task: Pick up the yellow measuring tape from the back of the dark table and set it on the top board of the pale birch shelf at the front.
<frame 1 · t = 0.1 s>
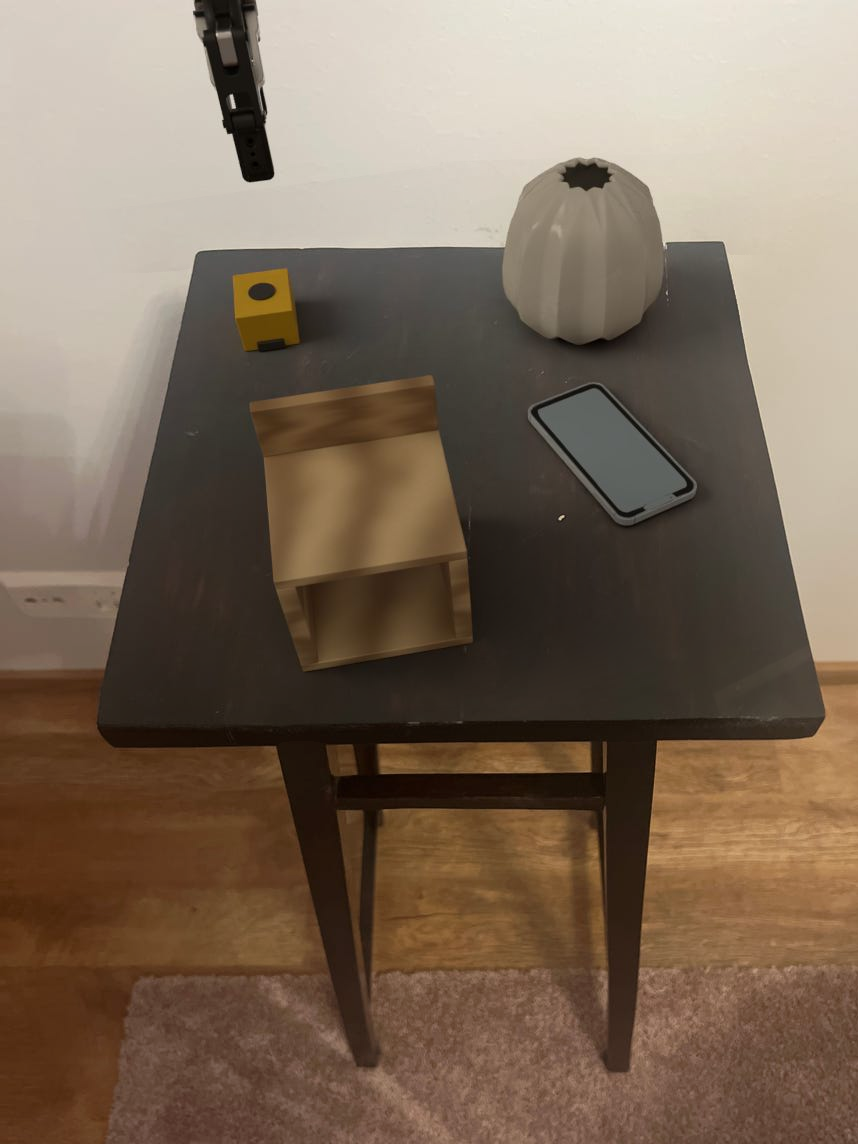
hand: (256, 147, 70), 20 cm above the table, tool pointing down, fingers open, 8 cm apart
shelf: (378, 591, 71), on the table
vase: (579, 317, 89), on the table
smartphone: (608, 455, 79), on the table
measuring tape: (270, 326, 90), on the table
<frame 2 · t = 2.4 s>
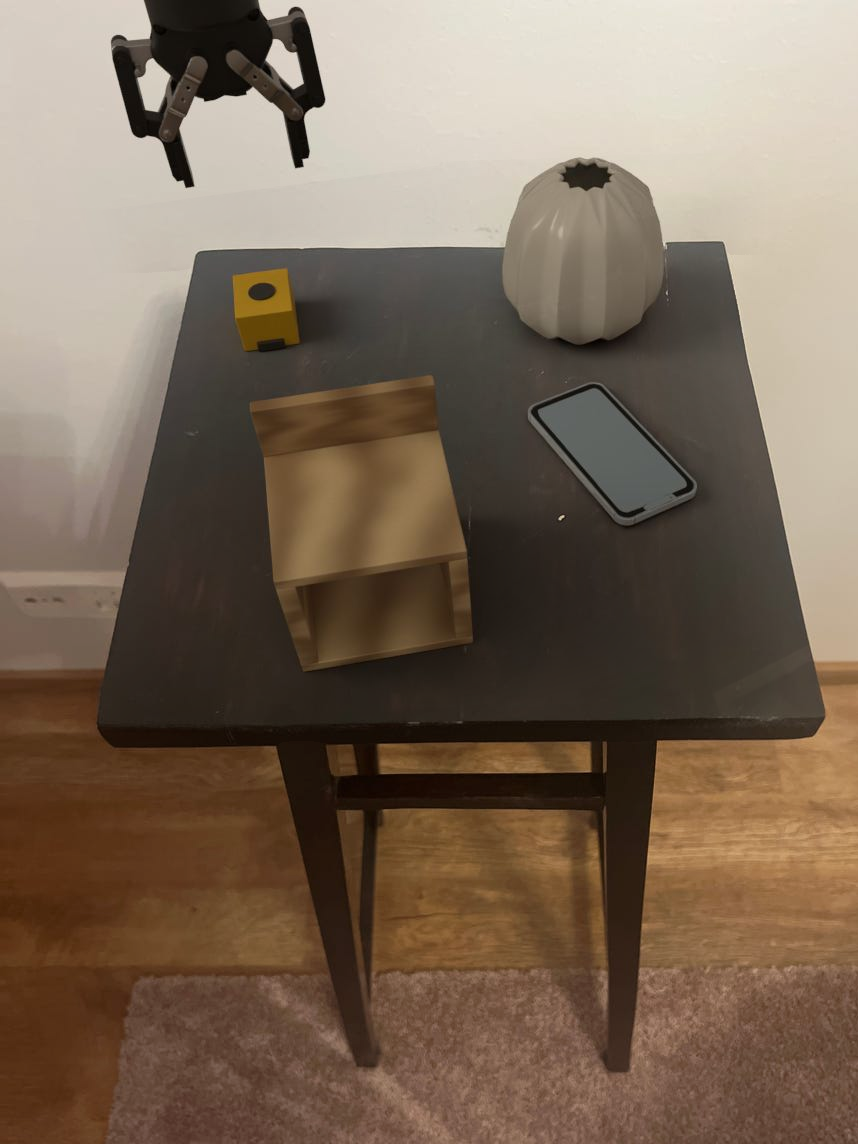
hand: (243, 172, 76), 16 cm above the table, tool pointing down, fingers open, 8 cm apart
nothing on the table moved.
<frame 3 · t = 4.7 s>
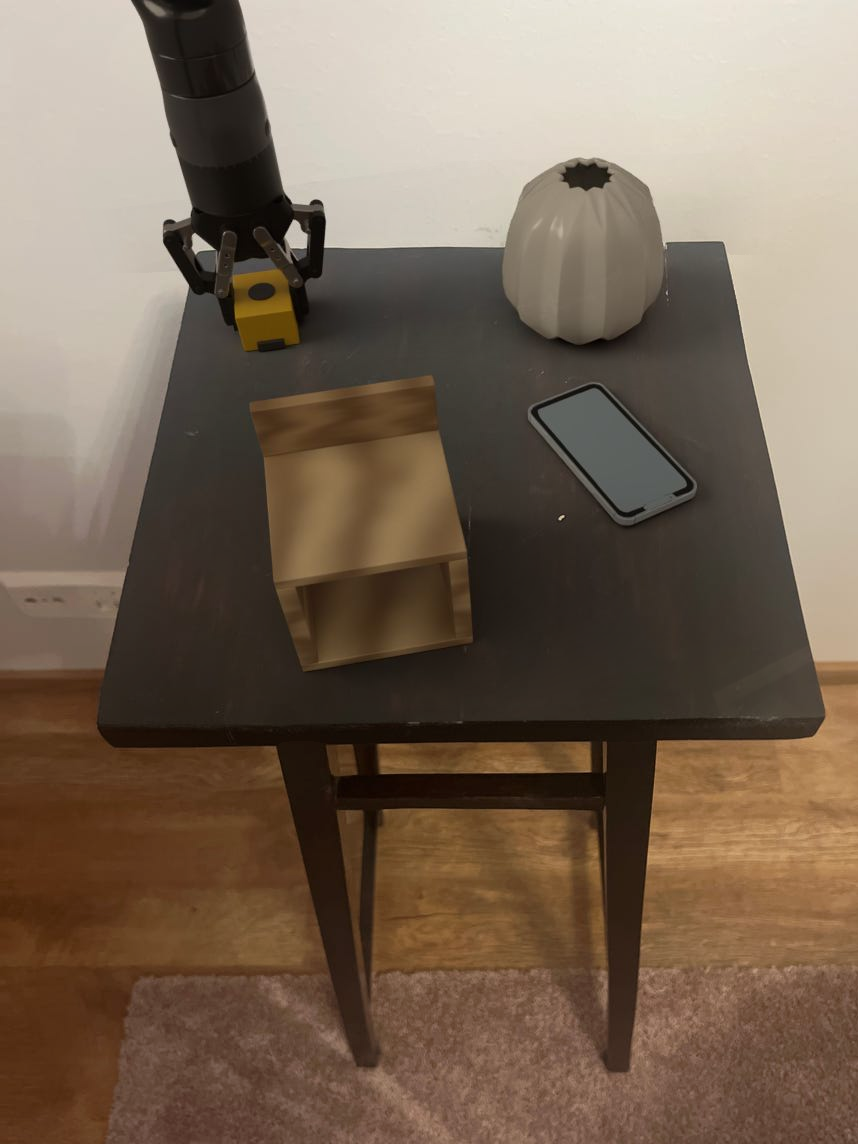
hand: (268, 320, 89), 1 cm above the table, tool pointing down, fingers closed on measuring tape, 5 cm apart
measuring tape: (270, 326, 90), on the table, touching gripper
everything else where it was.
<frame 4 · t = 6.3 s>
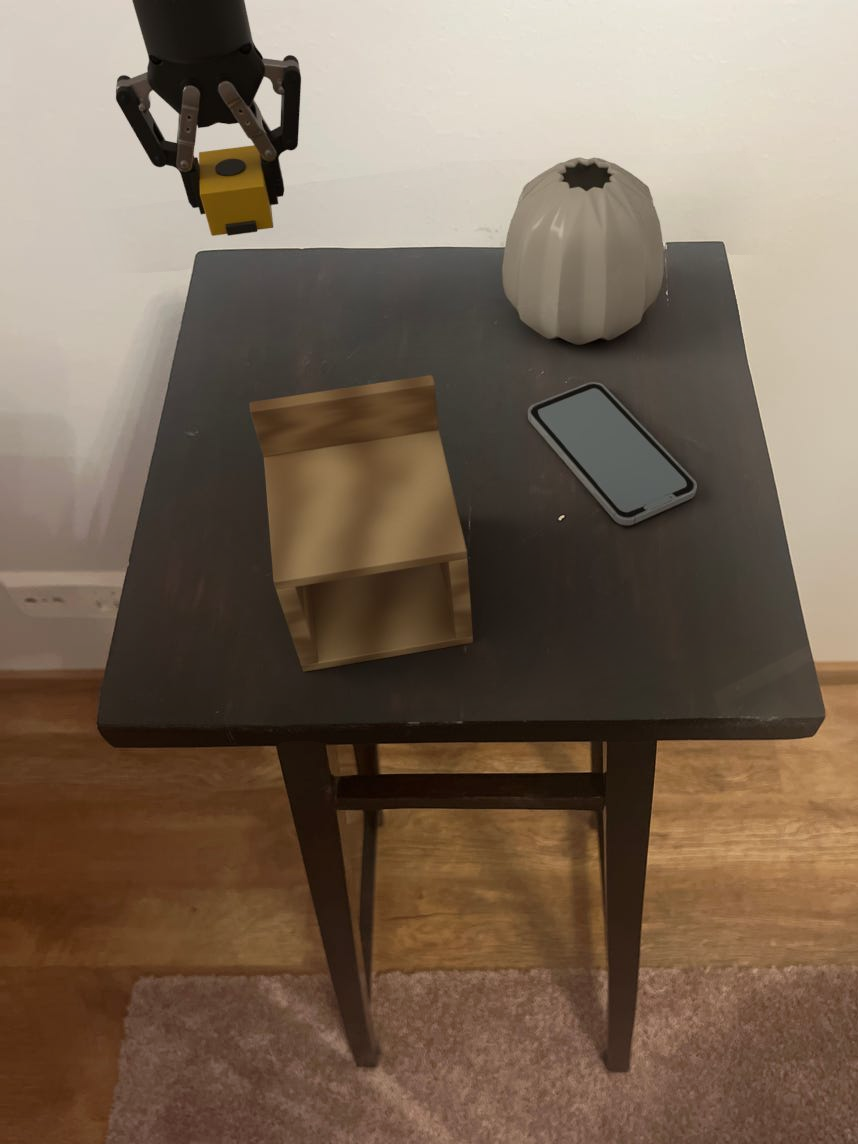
hand: (239, 203, 80), 12 cm above the table, tool pointing down, fingers closed on measuring tape, 5 cm apart
measuring tape: (241, 210, 80), point 11 cm above the table, touching gripper
everything else where it was.
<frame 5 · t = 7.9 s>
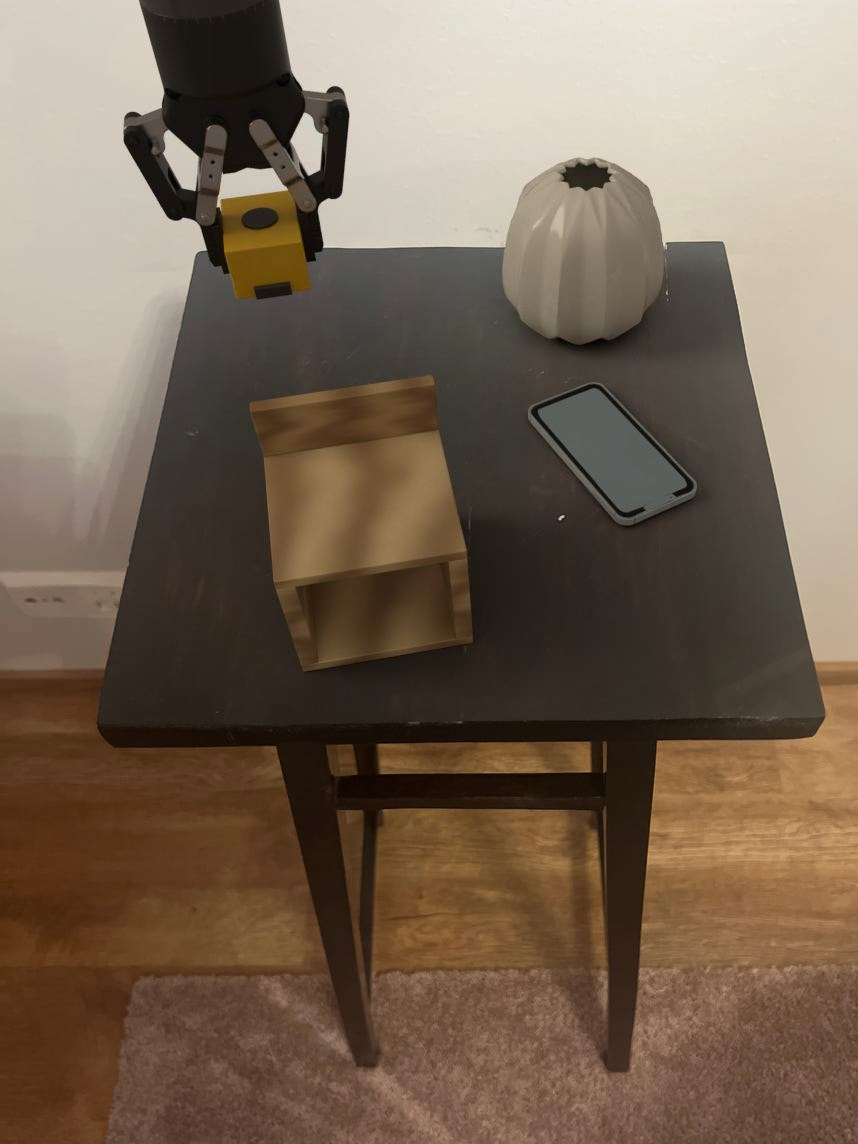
hand: (268, 260, 67), 17 cm above the table, tool pointing down, fingers closed on measuring tape, 5 cm apart
measuring tape: (271, 268, 67), point 16 cm above the table, touching gripper
everything else where it was.
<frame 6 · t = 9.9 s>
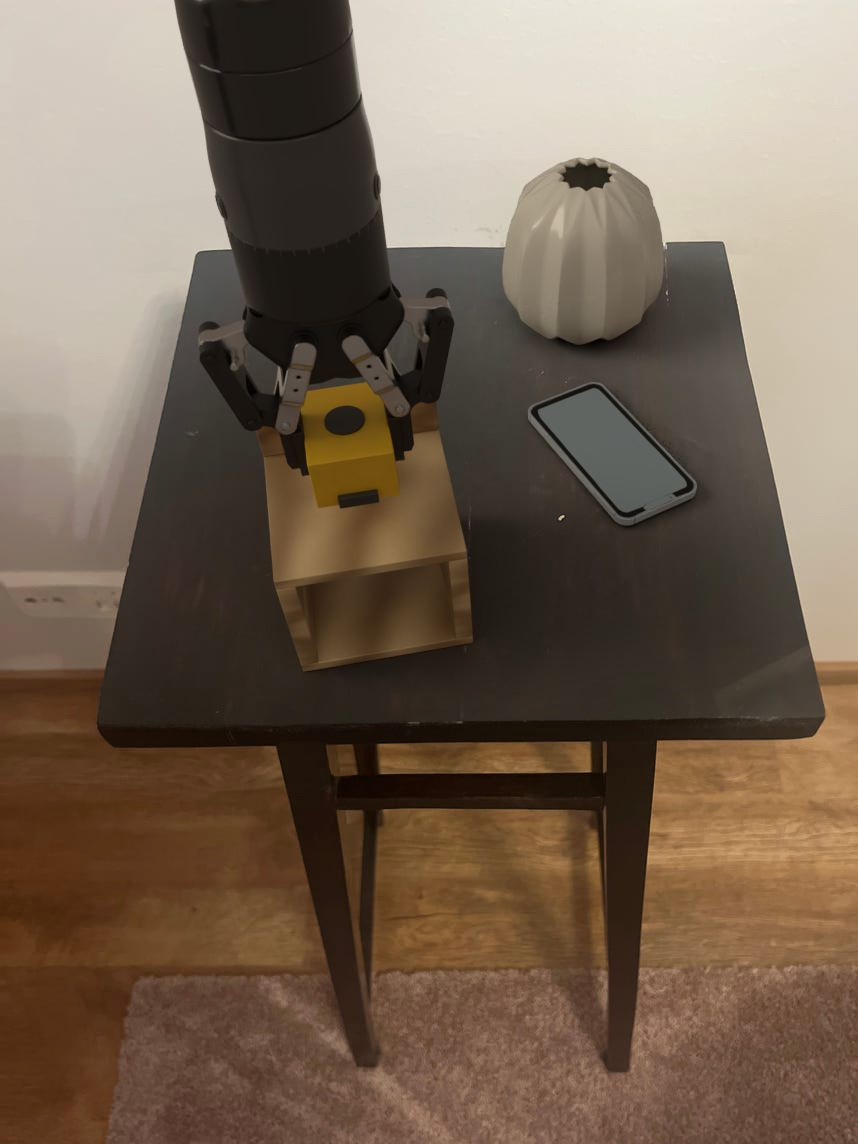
hand: (351, 458, 60), 14 cm above the table, tool pointing down, fingers closed on measuring tape, 5 cm apart
measuring tape: (353, 465, 60), point 13 cm above the table, touching gripper
everything else where it was.
when the fingers open (11 cm above the table, at t = 11.2 s): measuring tape stays where it is, resting on shelf.
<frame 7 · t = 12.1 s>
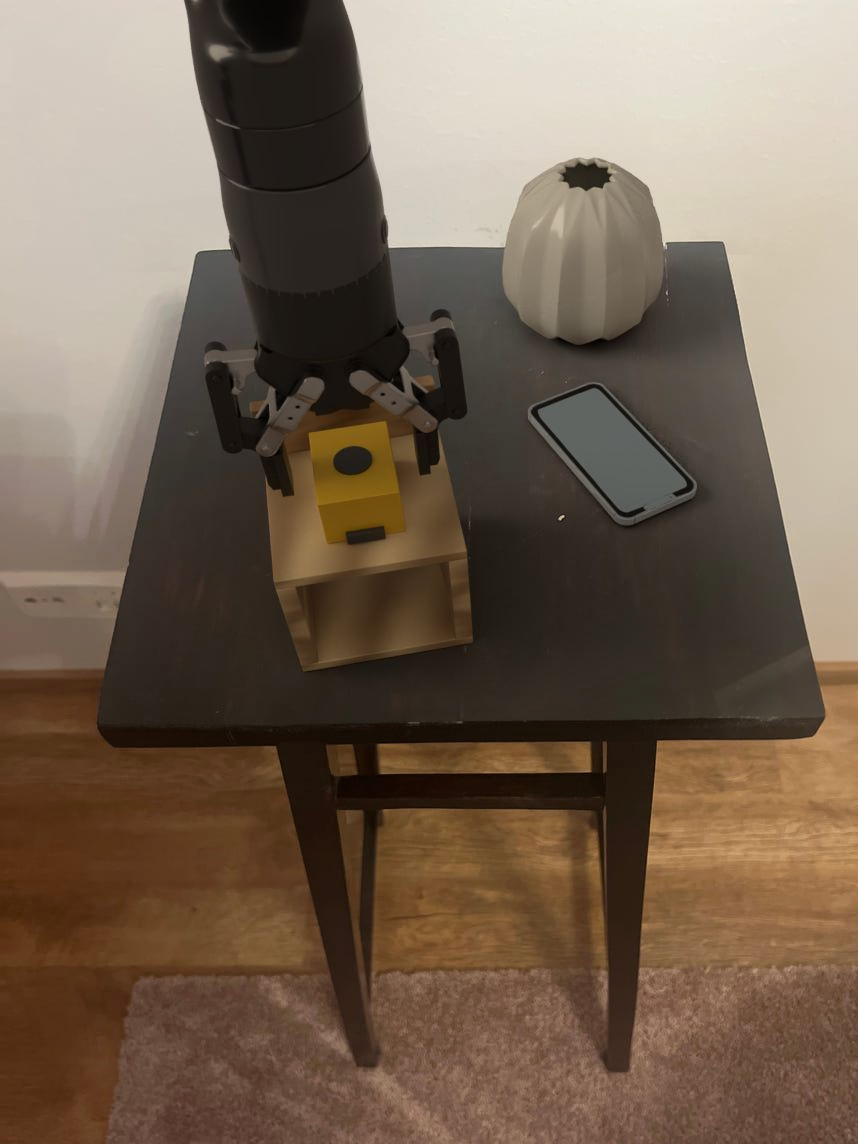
hand: (355, 476, 61), 12 cm above the table, tool pointing down, fingers open, 8 cm apart
measuring tape: (360, 501, 63), point 10 cm above the table, touching shelf
everything else where it was.
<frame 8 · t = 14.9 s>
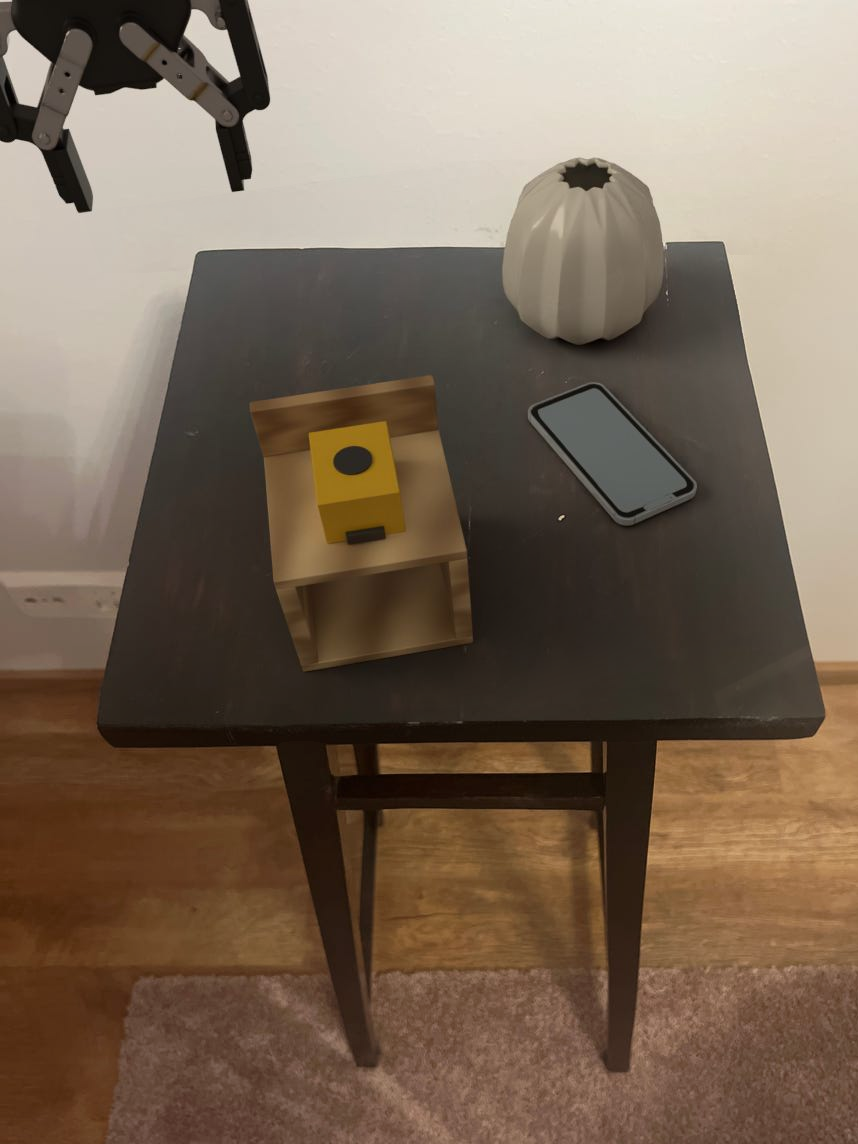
hand: (162, 194, 55), 26 cm above the table, tool pointing down, fingers open, 8 cm apart
nothing on the table moved.
at the end: measuring tape inside the target area on the shelf (0.2 cm from its centre), point 10.0 cm above the shelf's base; measuring tape tilted 0°; the gripper is holding nothing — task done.
